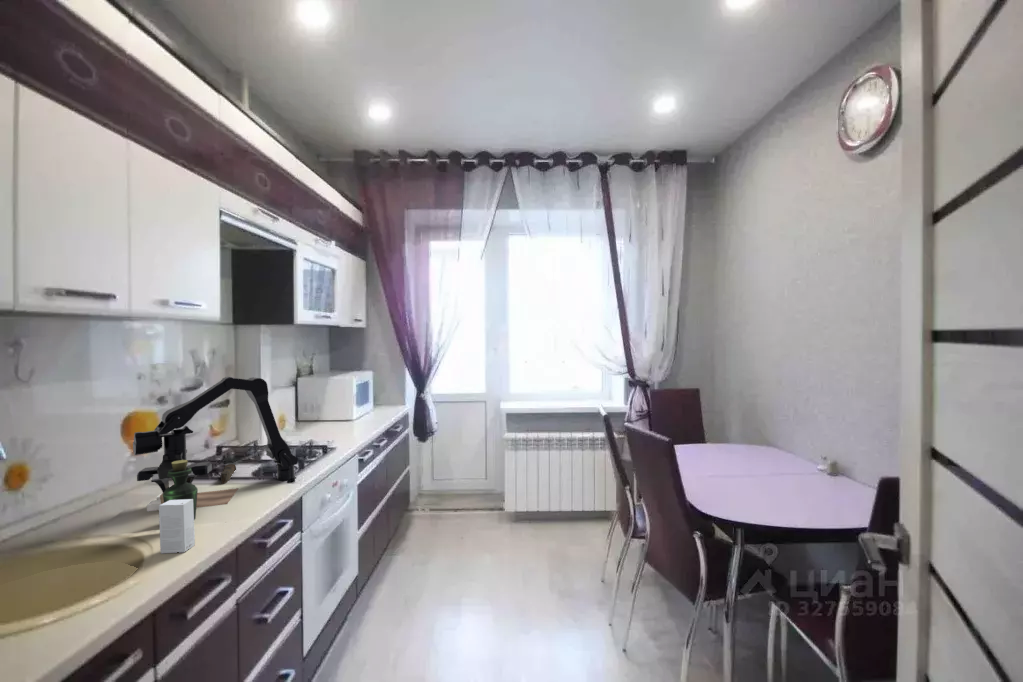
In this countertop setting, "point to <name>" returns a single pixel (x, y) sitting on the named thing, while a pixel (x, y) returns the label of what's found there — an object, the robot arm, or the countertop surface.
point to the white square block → (153, 505)
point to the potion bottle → (181, 484)
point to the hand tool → (227, 473)
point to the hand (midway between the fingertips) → (176, 498)
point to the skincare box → (176, 526)
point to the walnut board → (215, 497)
